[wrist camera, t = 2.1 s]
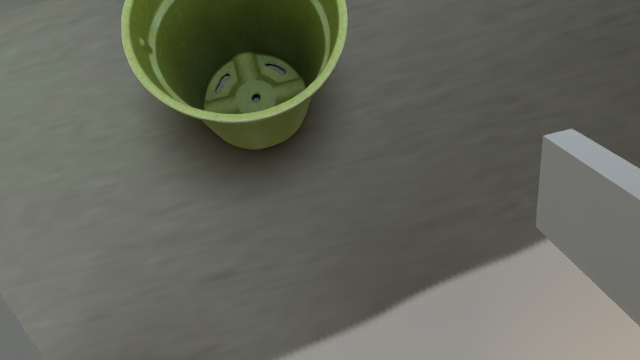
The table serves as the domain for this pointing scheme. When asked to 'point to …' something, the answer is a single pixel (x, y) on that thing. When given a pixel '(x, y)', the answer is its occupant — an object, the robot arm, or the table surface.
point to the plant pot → (236, 60)
